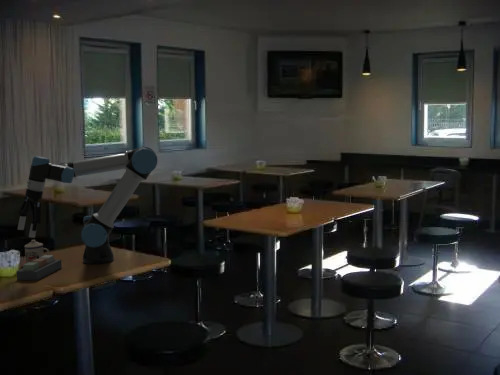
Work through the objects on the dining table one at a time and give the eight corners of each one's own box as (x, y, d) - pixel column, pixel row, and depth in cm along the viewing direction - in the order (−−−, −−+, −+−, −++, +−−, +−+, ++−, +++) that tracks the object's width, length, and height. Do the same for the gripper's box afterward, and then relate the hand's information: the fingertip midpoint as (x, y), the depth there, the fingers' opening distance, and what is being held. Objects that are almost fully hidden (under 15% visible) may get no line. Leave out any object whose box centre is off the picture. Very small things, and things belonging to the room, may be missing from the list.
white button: (54, 262, 304) (54, 255, 303) (49, 265, 299) (48, 257, 299) (45, 262, 305) (44, 255, 304) (40, 264, 300) (39, 257, 300)
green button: (39, 270, 290) (38, 262, 290) (33, 272, 286) (32, 265, 285) (29, 269, 291) (28, 262, 291) (23, 272, 287) (23, 264, 286)
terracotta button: (47, 266, 297) (46, 258, 297) (41, 268, 292) (40, 261, 292) (37, 266, 298) (37, 258, 298) (32, 268, 293) (31, 261, 293)
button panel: (61, 267, 305) (61, 259, 305) (37, 280, 284) (36, 271, 283) (42, 267, 307) (42, 259, 307) (17, 279, 286) (16, 271, 286)
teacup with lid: (22, 265, 314) (20, 242, 312) (30, 260, 323) (28, 238, 321) (46, 264, 313) (44, 241, 311) (53, 260, 322) (51, 237, 320)
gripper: (17, 183, 301) (8, 226, 303) (38, 194, 283) (28, 240, 284) (32, 184, 306) (23, 227, 308) (53, 196, 288) (44, 241, 290)
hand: (26, 233), depth 296 cm, fingers open, 13 cm apart
